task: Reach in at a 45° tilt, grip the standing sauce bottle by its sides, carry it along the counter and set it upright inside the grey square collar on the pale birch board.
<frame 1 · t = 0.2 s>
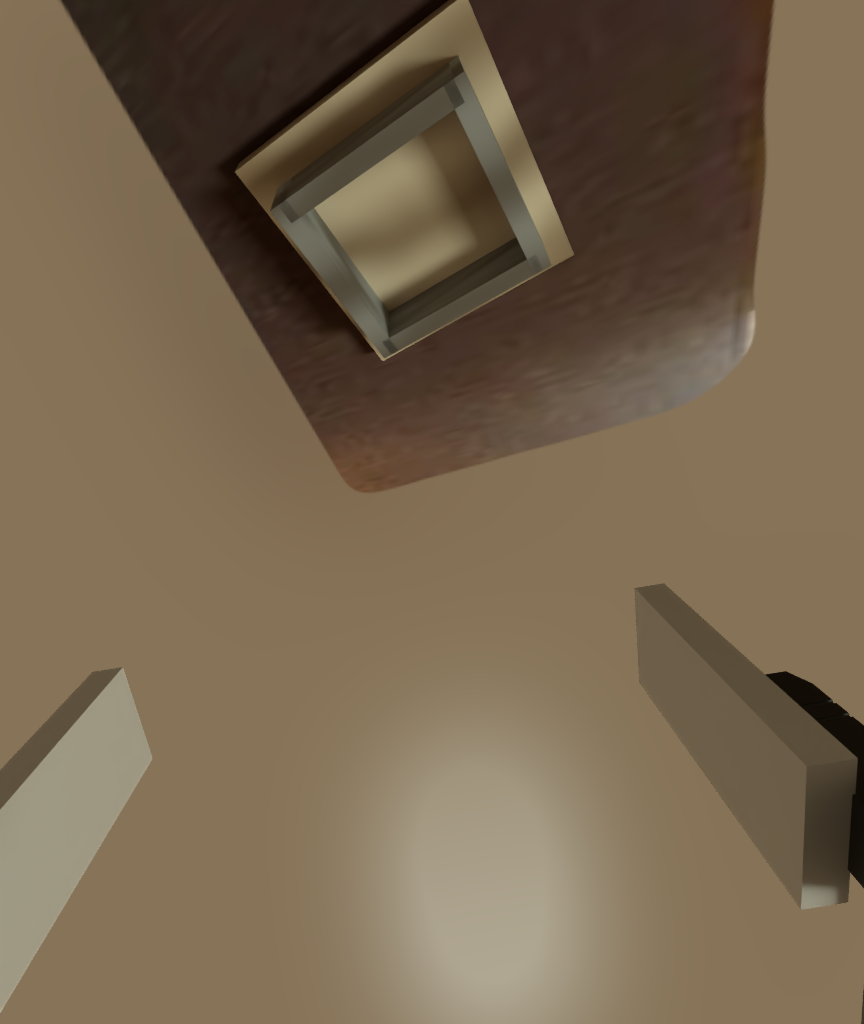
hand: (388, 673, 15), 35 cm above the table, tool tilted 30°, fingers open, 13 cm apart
bottle holder: (414, 206, 40), on the table
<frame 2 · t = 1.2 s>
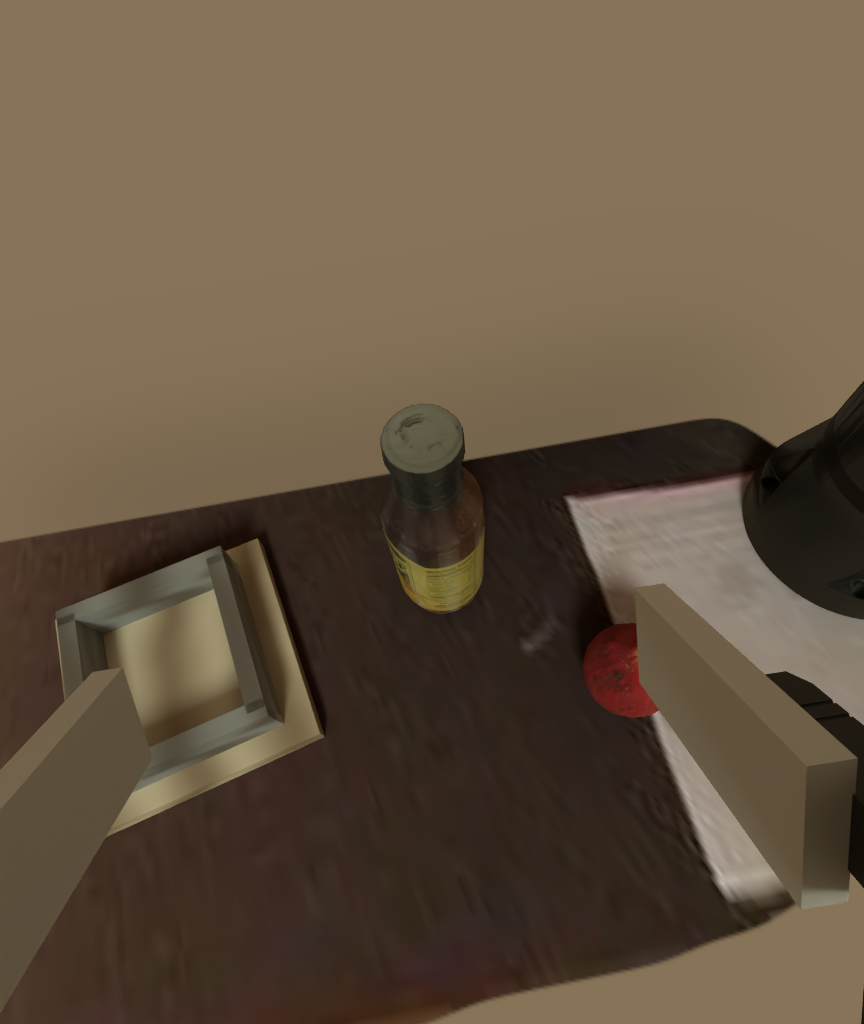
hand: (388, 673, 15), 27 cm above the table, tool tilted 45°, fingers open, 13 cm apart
bottle holder: (188, 678, 43), on the table
onion: (617, 683, 41), on the table
sauce bottle: (443, 582, 46), on the table
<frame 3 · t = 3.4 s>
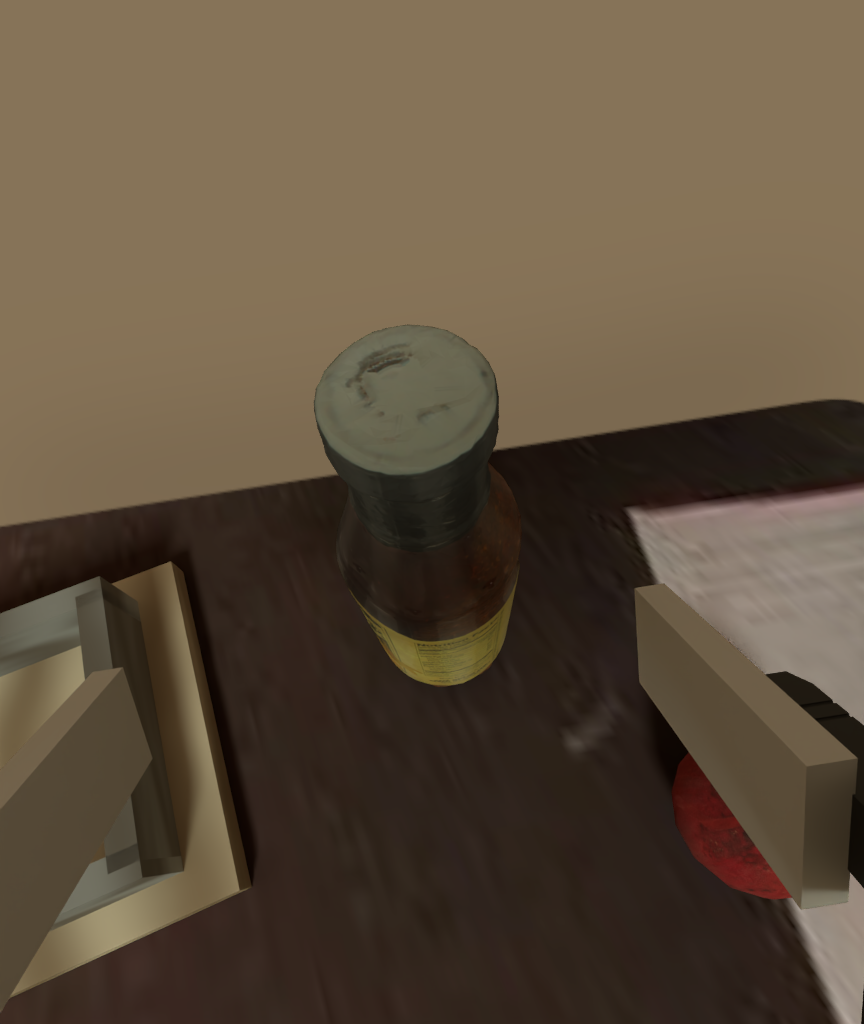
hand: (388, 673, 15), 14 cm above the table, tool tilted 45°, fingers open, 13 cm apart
bottle holder: (50, 777, 28), on the table
onion: (718, 810, 26), on the table
sauce bottle: (444, 635, 30), on the table
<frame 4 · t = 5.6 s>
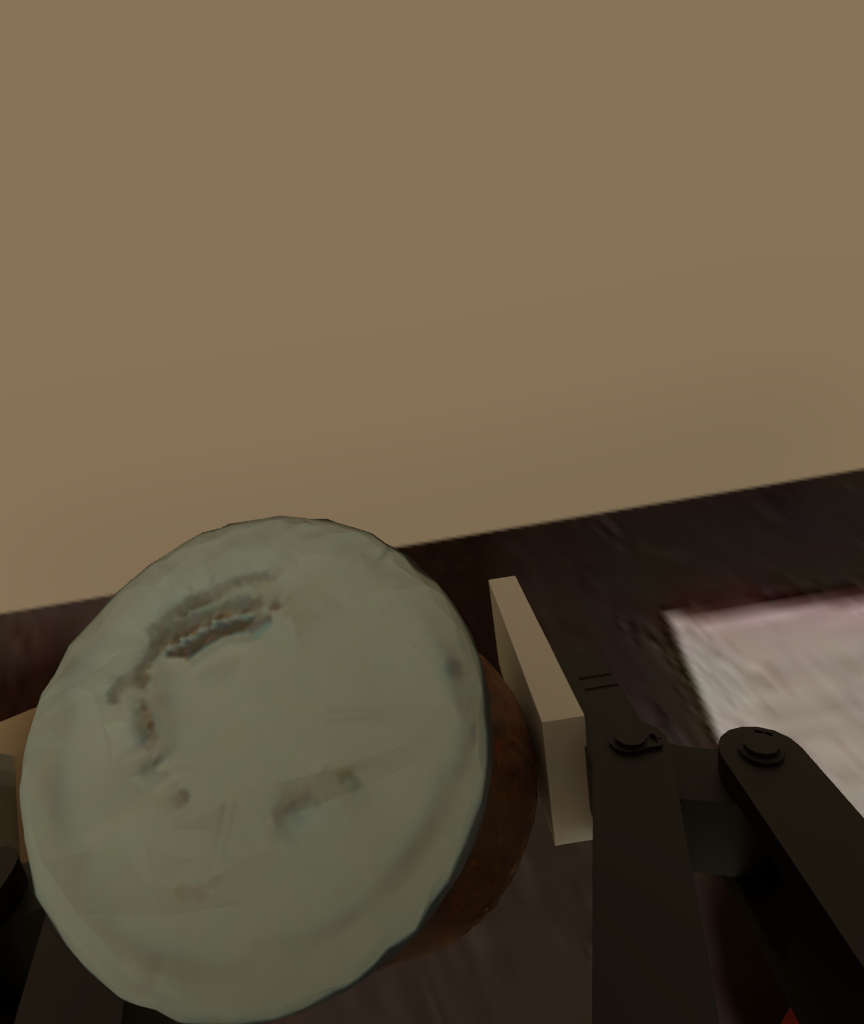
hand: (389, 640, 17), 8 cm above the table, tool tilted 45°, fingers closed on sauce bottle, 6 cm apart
sauce bottle: (428, 797, 23), on the table, touching gripper
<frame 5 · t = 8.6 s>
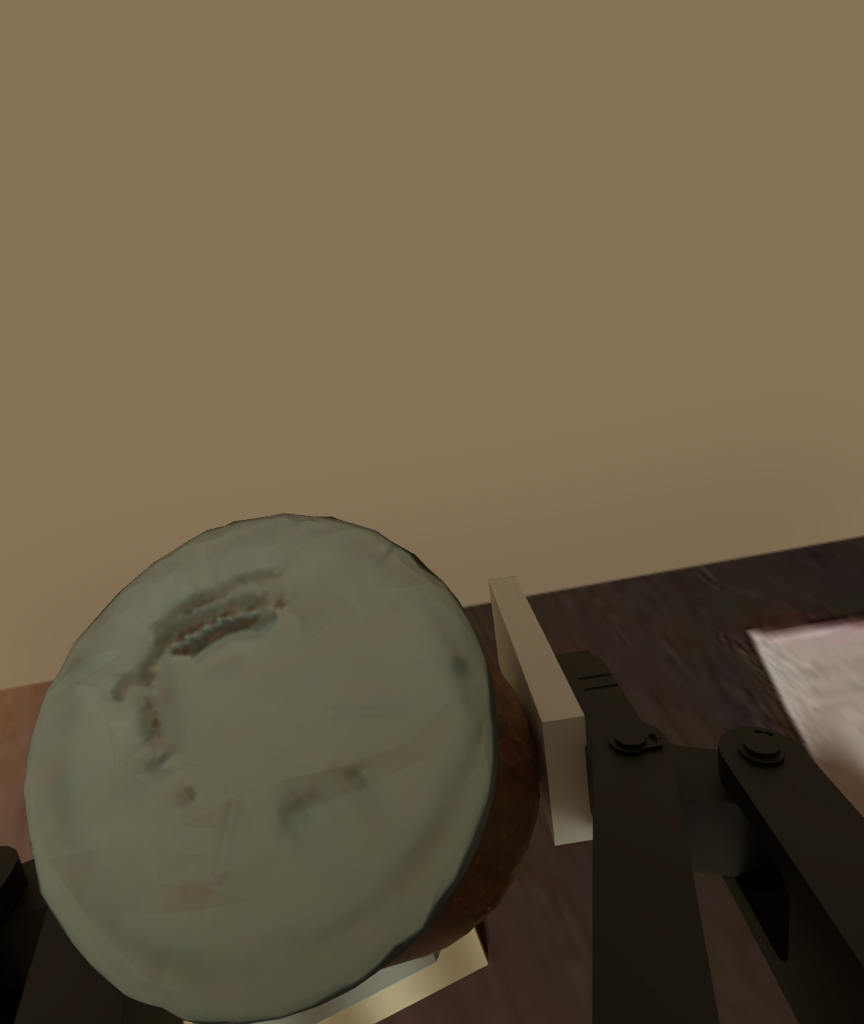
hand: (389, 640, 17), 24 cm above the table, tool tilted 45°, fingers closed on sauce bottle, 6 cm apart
bottle holder: (310, 869, 36), on the table
sauce bottle: (429, 796, 23), point 16 cm above the table, touching gripper
when the fingers open (11 cm above the table, at t = 11.6 s): sauce bottle drops 1 cm, resting on bottle holder.
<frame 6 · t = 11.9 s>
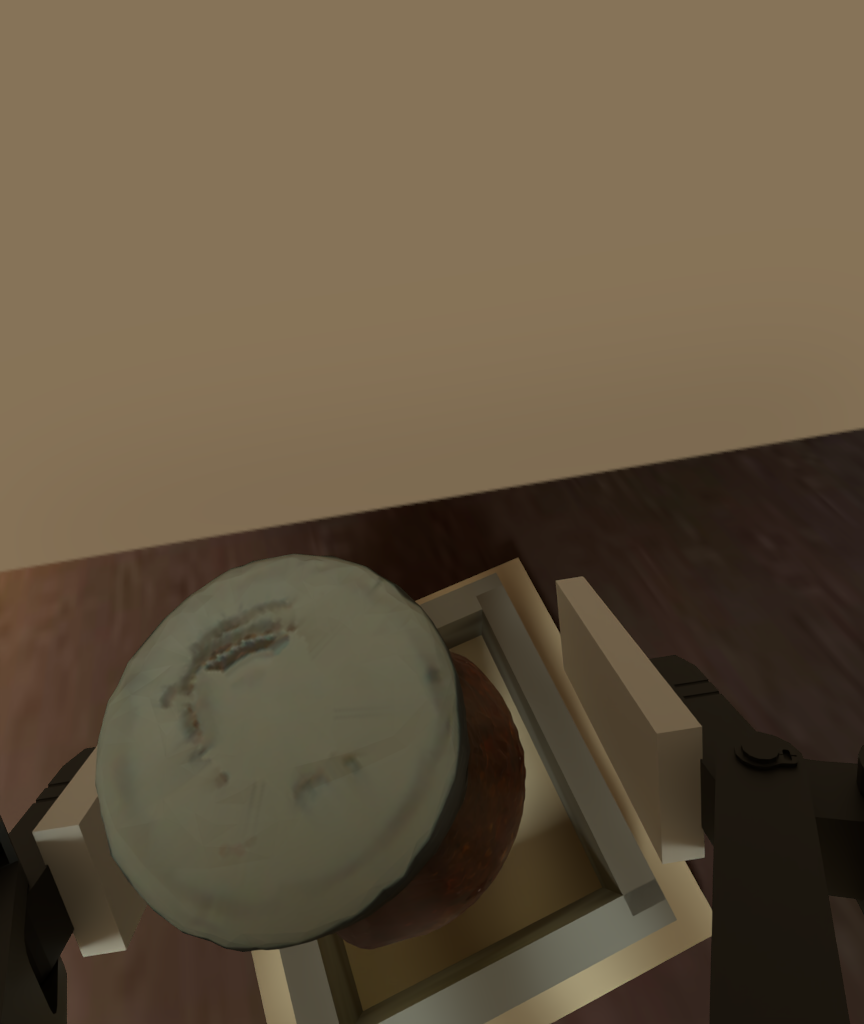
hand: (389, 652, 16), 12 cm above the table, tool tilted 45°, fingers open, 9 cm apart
bottle holder: (432, 800, 25), on the table
sauce bottle: (434, 800, 24), point 1 cm above the table, touching bottle holder
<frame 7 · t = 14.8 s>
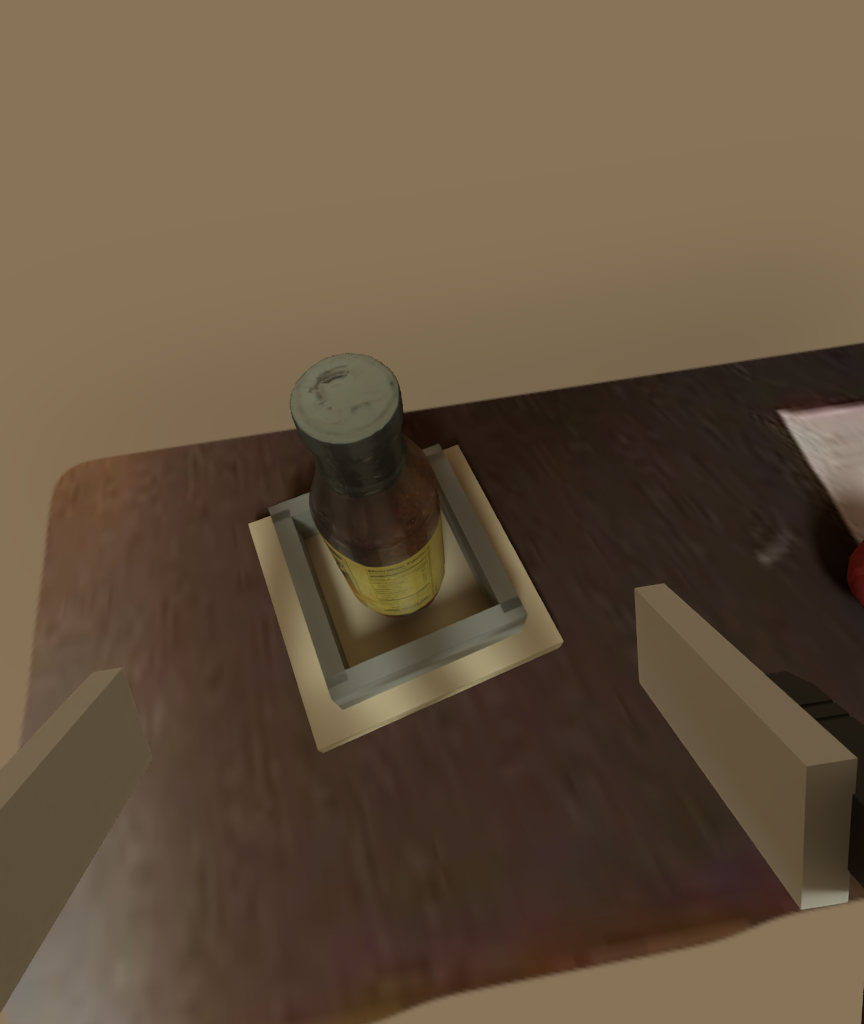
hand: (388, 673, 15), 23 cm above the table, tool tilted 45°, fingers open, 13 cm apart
bottle holder: (398, 587, 40), on the table
sauce bottle: (399, 581, 39), point 1 cm above the table, touching bottle holder
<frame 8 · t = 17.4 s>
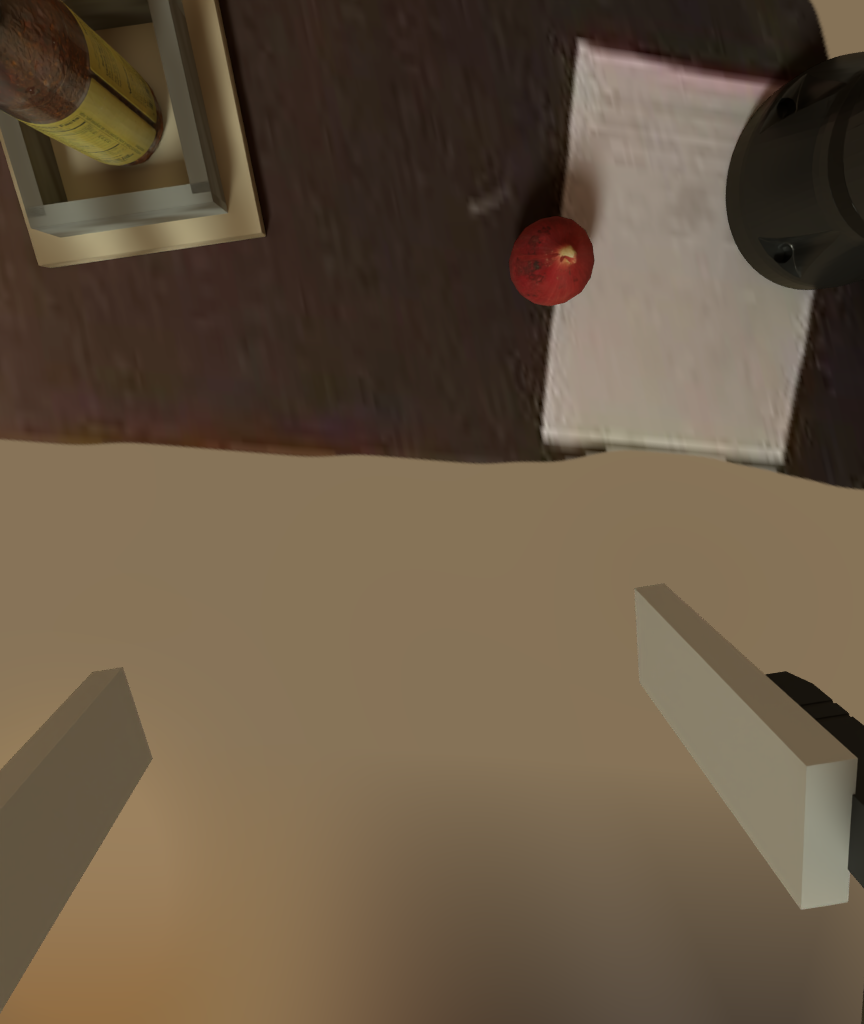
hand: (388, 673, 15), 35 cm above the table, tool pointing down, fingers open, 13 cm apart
bottle holder: (127, 129, 41), on the table
onion: (538, 269, 46), on the table
sauce bottle: (122, 124, 40), point 1 cm above the table, touching bottle holder
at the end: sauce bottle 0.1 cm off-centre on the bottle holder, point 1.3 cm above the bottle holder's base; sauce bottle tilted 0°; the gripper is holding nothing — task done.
